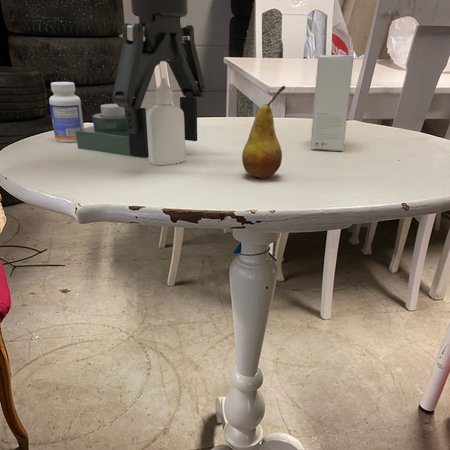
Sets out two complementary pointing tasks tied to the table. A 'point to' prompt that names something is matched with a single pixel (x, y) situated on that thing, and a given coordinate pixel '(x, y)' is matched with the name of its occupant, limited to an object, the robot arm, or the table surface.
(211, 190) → the table surface
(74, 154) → the table surface
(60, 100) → the pill bottle
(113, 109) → the pump button
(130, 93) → the robot arm
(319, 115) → the cosmetic box
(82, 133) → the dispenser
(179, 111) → the eye dropper bottle
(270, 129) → the fruit
